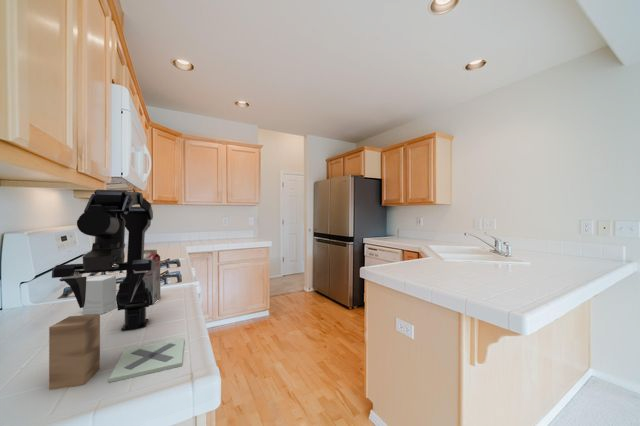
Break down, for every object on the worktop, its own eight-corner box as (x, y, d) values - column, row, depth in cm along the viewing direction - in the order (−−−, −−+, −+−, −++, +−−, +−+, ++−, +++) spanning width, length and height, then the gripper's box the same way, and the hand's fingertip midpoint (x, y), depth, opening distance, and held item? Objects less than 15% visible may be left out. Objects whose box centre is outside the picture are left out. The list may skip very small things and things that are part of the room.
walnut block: (69, 372, 60) (69, 316, 60) (99, 369, 61) (99, 313, 61) (49, 389, 54) (49, 327, 54) (83, 385, 55) (83, 324, 55)
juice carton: (153, 304, 105) (152, 250, 105) (135, 305, 104) (134, 251, 104) (160, 299, 112) (160, 248, 112) (143, 300, 111) (143, 249, 111)
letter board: (124, 352, 69) (124, 348, 69) (184, 340, 75) (184, 337, 75) (108, 382, 56) (108, 378, 56) (182, 366, 62) (182, 362, 62)
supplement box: (117, 307, 103) (117, 275, 103) (102, 314, 95) (102, 280, 95) (98, 307, 102) (98, 275, 102) (81, 315, 95) (81, 280, 95)
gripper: (40, 238, 53) (32, 318, 51) (147, 235, 60) (145, 304, 58) (67, 241, 63) (62, 308, 61) (156, 238, 71) (154, 298, 68)
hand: (106, 304), depth 62 cm, fingers open, 9 cm apart
